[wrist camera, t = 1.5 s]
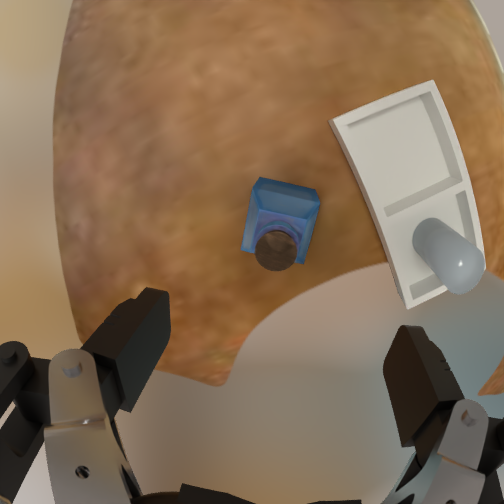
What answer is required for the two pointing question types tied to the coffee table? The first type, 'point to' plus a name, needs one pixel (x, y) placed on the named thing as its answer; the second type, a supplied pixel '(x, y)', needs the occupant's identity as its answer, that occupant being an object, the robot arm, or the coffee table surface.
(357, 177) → the tray
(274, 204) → the perfume bottle
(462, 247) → the grey rounded cylinder
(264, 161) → the coffee table surface
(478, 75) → the coffee table surface
